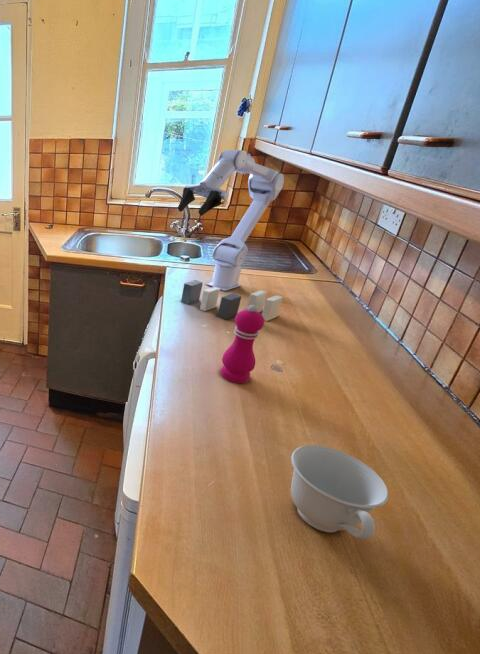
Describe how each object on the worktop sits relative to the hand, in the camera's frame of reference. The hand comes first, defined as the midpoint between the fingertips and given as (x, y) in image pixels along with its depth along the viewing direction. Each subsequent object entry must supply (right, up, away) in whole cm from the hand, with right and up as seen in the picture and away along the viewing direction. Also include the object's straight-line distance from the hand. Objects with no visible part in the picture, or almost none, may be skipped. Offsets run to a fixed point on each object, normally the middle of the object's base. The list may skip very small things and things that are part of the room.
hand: (189, 211), depth 130 cm
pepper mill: (-1, -48, -27) cm, 56 cm away
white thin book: (+10, -31, +9) cm, 34 cm away
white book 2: (+27, -34, +1) cm, 43 cm away
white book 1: (+24, -33, +5) cm, 41 cm away
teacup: (-9, -66, -64) cm, 93 cm away
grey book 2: (+14, -34, +3) cm, 37 cm away
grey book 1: (+7, -29, +14) cm, 33 cm away
